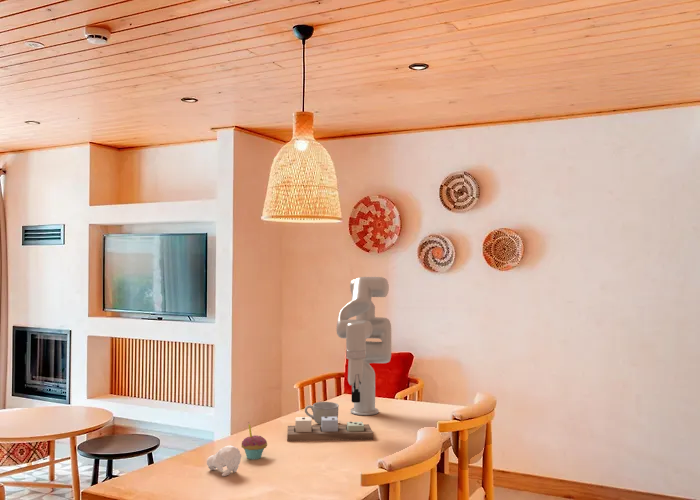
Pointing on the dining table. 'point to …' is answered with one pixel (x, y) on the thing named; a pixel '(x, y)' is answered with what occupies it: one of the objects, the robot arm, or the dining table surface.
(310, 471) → the dining table surface
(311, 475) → the dining table surface
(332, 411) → the teacup
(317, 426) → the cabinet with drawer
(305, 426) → the cream square block
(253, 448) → the cupcake
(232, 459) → the white animal figurine
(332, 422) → the white die
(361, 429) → the pale green block
